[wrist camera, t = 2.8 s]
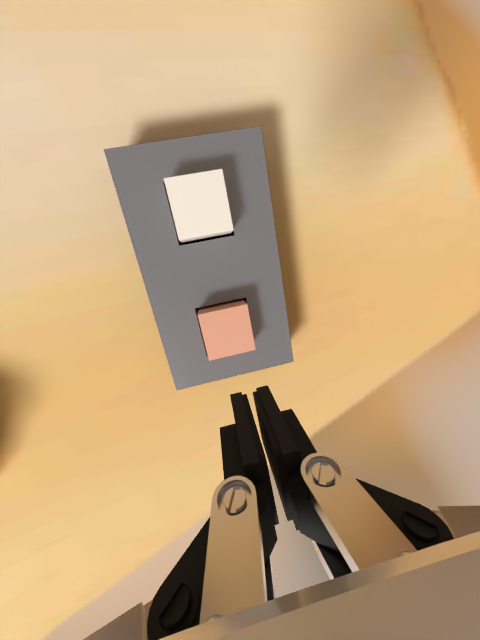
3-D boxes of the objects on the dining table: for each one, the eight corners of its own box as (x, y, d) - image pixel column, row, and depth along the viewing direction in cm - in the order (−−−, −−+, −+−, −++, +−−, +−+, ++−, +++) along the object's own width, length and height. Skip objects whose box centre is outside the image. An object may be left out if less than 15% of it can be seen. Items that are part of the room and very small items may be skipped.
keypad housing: (120, 167, 24) (103, 149, 20) (252, 146, 25) (261, 126, 21) (180, 373, 30) (176, 390, 26) (282, 349, 32) (293, 361, 28)
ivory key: (168, 188, 22) (163, 178, 19) (220, 180, 23) (222, 168, 20) (182, 242, 24) (179, 240, 21) (230, 233, 24) (233, 230, 21)
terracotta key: (198, 308, 26) (197, 314, 23) (242, 299, 26) (247, 304, 23) (208, 350, 27) (208, 360, 24) (250, 340, 27) (255, 349, 24)
